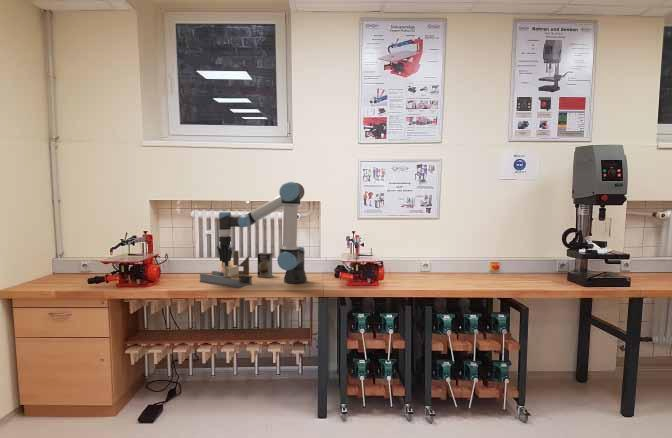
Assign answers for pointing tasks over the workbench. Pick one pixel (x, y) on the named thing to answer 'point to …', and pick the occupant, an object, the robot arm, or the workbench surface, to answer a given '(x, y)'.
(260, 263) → the coffee box
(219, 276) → the steel chute
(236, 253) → the dark angular piece
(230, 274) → the maple block
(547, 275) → the workbench surface
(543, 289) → the workbench surface
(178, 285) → the workbench surface
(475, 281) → the workbench surface
